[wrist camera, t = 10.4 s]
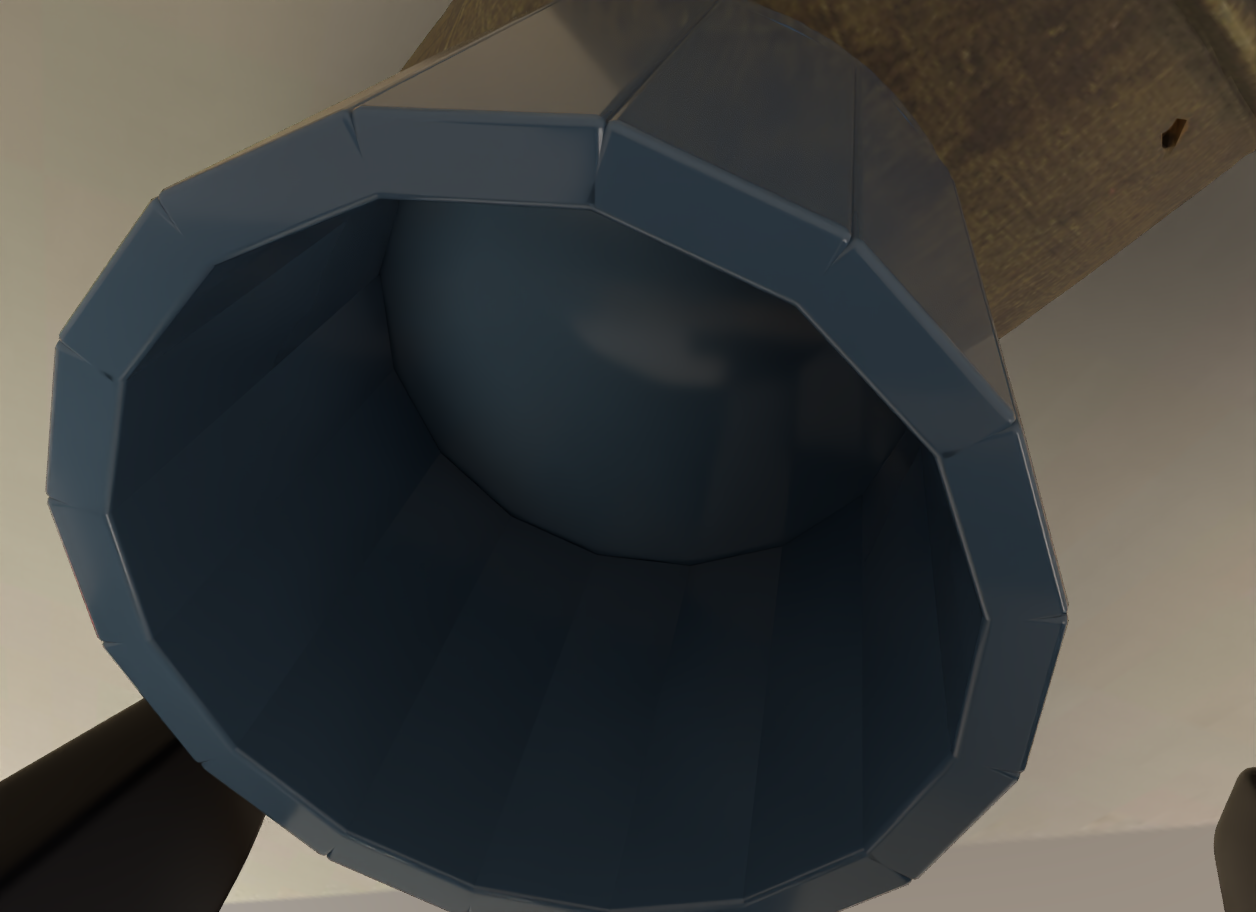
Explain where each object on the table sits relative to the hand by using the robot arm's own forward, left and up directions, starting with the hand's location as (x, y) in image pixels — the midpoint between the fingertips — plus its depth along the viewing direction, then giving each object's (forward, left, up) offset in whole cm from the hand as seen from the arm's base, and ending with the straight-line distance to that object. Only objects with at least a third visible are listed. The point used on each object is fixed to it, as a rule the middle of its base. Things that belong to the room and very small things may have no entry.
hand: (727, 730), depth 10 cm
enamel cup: (+3, +1, -3) cm, 4 cm away
